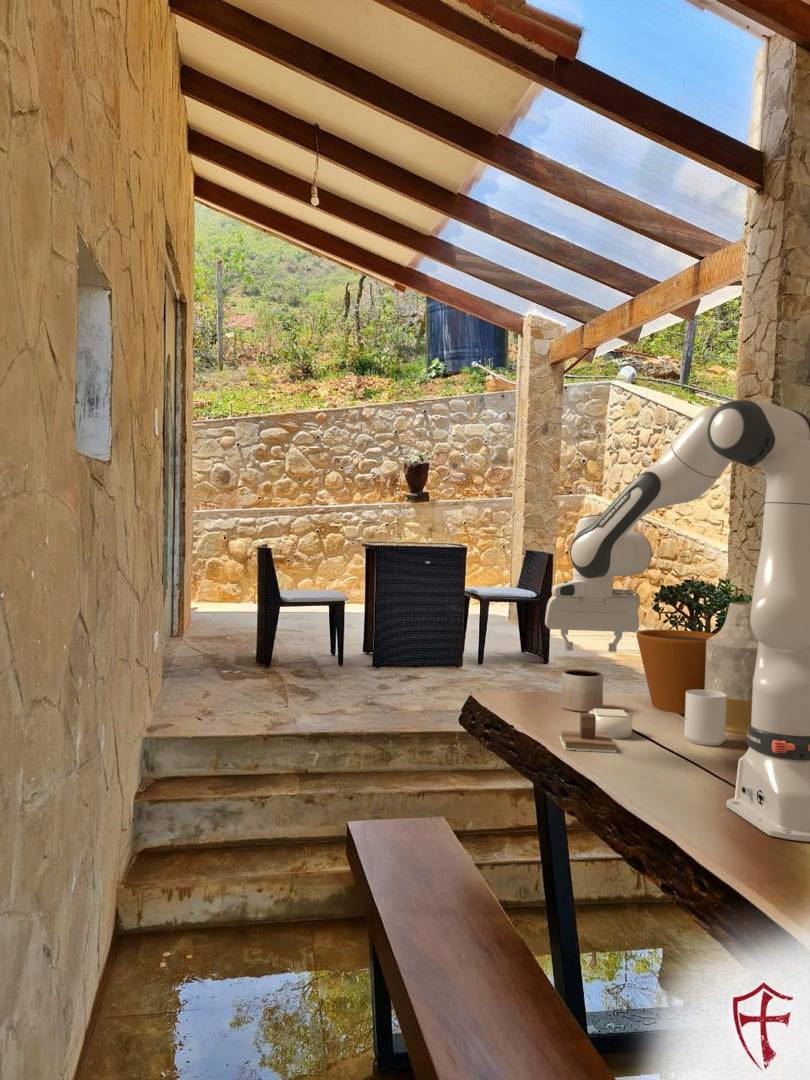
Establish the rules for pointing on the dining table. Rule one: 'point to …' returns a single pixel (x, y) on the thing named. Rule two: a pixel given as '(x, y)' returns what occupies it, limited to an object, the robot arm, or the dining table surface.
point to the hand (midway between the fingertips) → (590, 651)
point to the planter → (582, 690)
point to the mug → (705, 717)
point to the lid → (587, 735)
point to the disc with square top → (613, 722)
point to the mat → (586, 749)
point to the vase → (733, 665)
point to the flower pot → (673, 665)
